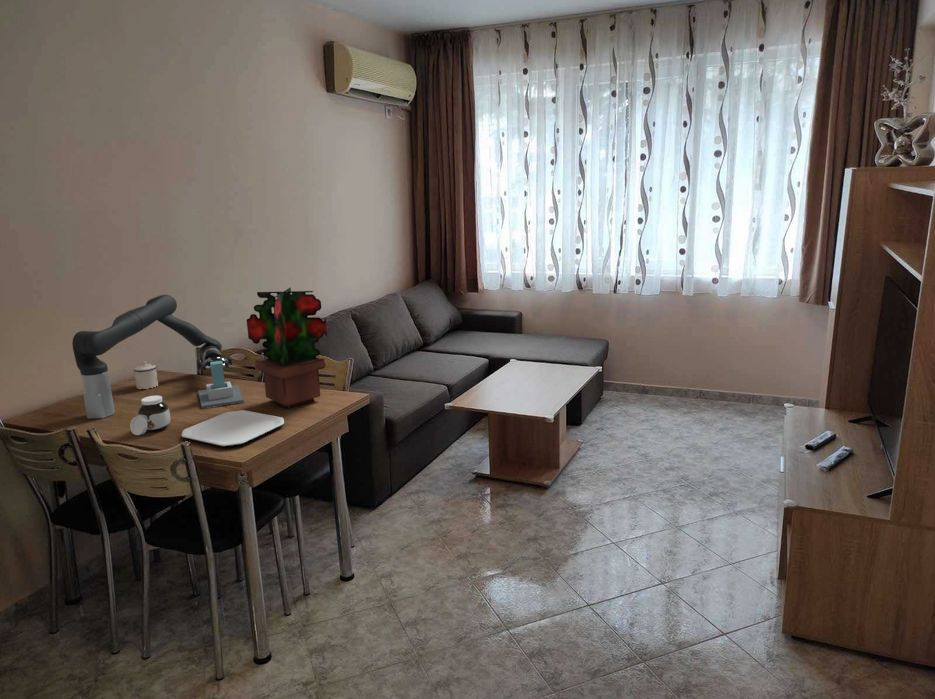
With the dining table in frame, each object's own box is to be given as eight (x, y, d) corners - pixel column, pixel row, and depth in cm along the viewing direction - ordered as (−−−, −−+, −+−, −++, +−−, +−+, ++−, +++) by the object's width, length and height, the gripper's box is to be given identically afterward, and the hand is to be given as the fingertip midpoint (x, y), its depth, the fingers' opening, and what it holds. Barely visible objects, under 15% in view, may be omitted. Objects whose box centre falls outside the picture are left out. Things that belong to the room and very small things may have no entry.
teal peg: (226, 395, 276) (222, 363, 272) (215, 397, 274) (210, 364, 271) (225, 392, 280) (221, 360, 276) (214, 394, 278) (210, 362, 274)
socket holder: (243, 402, 271) (242, 390, 269) (201, 408, 264) (200, 396, 263) (237, 387, 290) (236, 376, 289) (198, 393, 284) (196, 381, 282)
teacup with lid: (163, 385, 296) (159, 359, 293) (145, 391, 289) (141, 365, 286) (145, 382, 302) (141, 357, 299) (127, 387, 294) (123, 362, 291)
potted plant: (332, 400, 271) (323, 290, 259) (282, 414, 256) (271, 298, 244) (303, 389, 286) (294, 285, 275) (255, 401, 271) (243, 292, 260)
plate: (173, 439, 234) (172, 433, 234) (235, 413, 259) (235, 408, 259) (233, 453, 221) (232, 447, 221) (293, 424, 246) (292, 419, 245)
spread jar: (174, 424, 248) (169, 394, 245) (162, 435, 237) (158, 404, 234) (140, 425, 248) (136, 395, 245) (127, 437, 237) (122, 406, 234)
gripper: (194, 351, 294) (196, 360, 280) (228, 347, 300) (232, 356, 285) (196, 368, 296) (198, 377, 282) (230, 363, 302) (234, 372, 287)
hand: (215, 366), depth 284 cm, fingers open, 8 cm apart
